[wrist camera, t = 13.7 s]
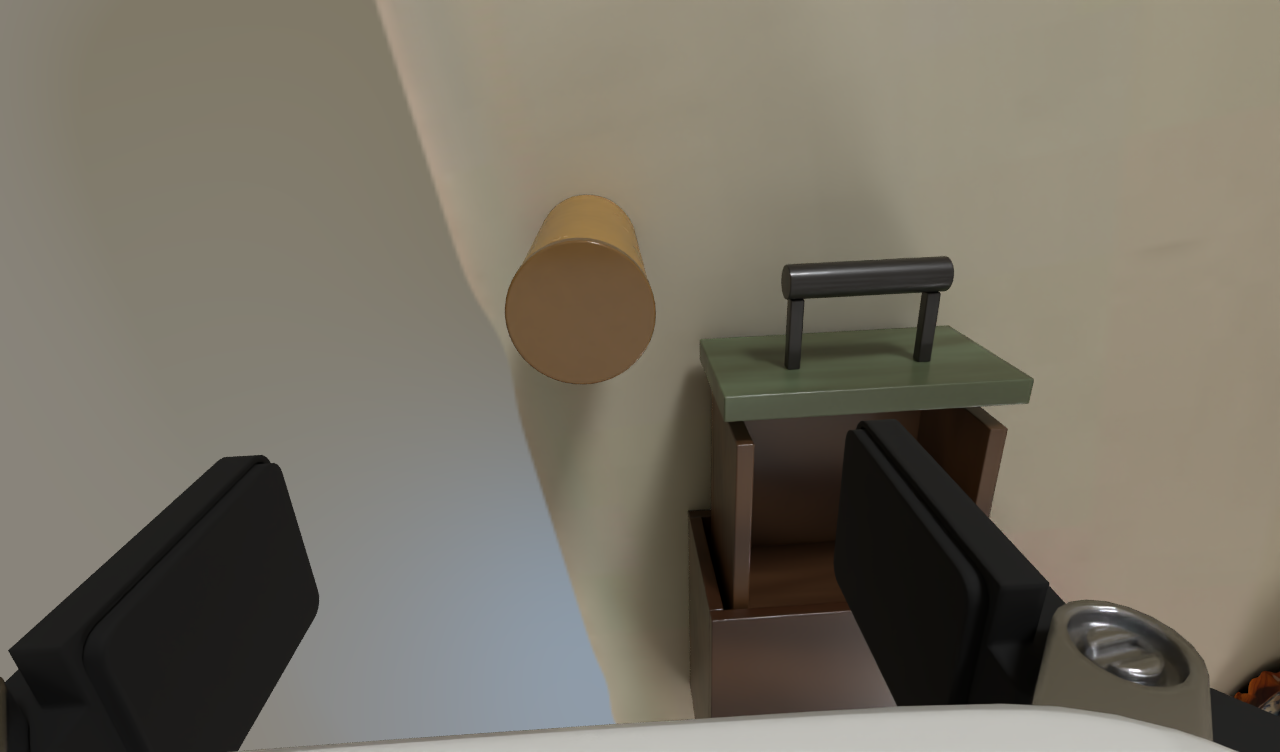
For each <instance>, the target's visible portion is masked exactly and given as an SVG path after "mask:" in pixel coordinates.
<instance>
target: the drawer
mask: <svg viewBox="0 0 1280 752" xmlns="http://www.w3.org/2000/svg"><path fill="white" fill-rule="evenodd" d="M953 278H954V268H953V264H952V261H951V260H950V259H949V258H948V257H946V256H940V257H921V258H902V259H883V260H864V261H844V262H825V263H806V264H787V265H785V266H784V268H783V271H782V278H781V284H782V292H783V295H784V298H785V299H787V300H788V306H787V325H786V335H771V336H753V337H735V338H717V339H701V340H700V361H701V364H702V366H703V369H704V372H705V374H706V377H707V379H708V382H709V384H710V387H711V389H712V432H711V553H712V557H713V561H714V566H715V570H716V574H717V578H718V582H719V586H720V590H721V594H722V598H723V602H724V606H725V610H732V609H746V608H760V607H774V606H788V605H802V604H816V603H830V602H844V601H846V600H845V597H844V595H843V593H842V591H841V589H840V587H839V585H838V583H837V580H836V577H835V573H834V564H833V561H834V549H835V539H836V529H837V519H838V509H839V499H840V489H841V479H842V468H843V458H844V448H845V439H846V434H847V432H848V431H849V430H856V427H857V425H858V423H859V422H860V421H867V420H885V419H896V420H897V421H899V422H900V423H901V424H902V425H903V426H904V427H905V429H906V430H907V431H908V432H909V433H910V434H911V435H912V436H913V437H914V438H915V439H916V440H917V441H918V443H919V444H920V445H921V446H922V447H923V448H924V449H925V450H926V451H927V452H928V453H929V454H930V455H931V457H932V458H933V459H934V460H935V461H936V462H937V463H938V464H939V465H940V466H941V467H942V468H943V469H944V470H945V472H946V473H947V474H948V475H949V476H950V477H951V478H952V479H953V480H954V481H955V482H956V483H957V484H958V486H959V487H960V488H961V489H962V490H963V491H964V492H965V493H966V494H967V495H968V496H969V497H970V498H971V499H972V501H973V502H974V503H975V504H976V505H977V506H978V507H979V508H980V509H981V510H982V511H983V512H984V513H985V515H986V516H987V517H988V518H989V515H990V510H991V505H992V501H993V496H994V491H995V486H996V482H997V477H998V472H999V468H1000V463H1001V458H1002V453H1003V449H1004V444H1005V439H1006V435H1007V430H1008V429H1007V428H1006V427H1005V426H1004V425H1003V424H1001V423H1000V422H999V421H997V420H996V419H995V418H994V417H992V416H991V415H990V414H989V413H987V412H986V411H985V410H984V409H982V408H981V406H998V405H1014V404H1028V403H1029V400H1030V395H1031V391H1032V386H1033V382H1034V379H1033V378H1032V377H1030V376H1028V375H1027V374H1025V373H1024V372H1022V371H1020V370H1019V369H1017V368H1016V367H1014V366H1012V365H1011V364H1009V363H1008V362H1006V361H1004V360H1003V359H1001V358H1000V357H998V356H996V355H995V354H993V353H992V352H990V351H989V350H987V349H985V348H984V347H982V346H981V345H979V344H977V343H976V342H974V341H973V340H971V339H969V338H968V337H966V336H965V335H963V334H961V333H960V332H958V331H957V330H955V329H953V328H952V327H950V326H936V321H937V315H938V308H939V301H940V295H941V294H940V292H939V291H946V290H948V289H949V288H950V287H951V285H952V282H953ZM920 292H922V296H921V303H920V310H919V317H918V324H917V327H913V328H895V329H877V330H860V331H842V332H824V333H806V334H802V331H803V316H804V300H803V299H810V298H828V297H847V296H865V295H884V294H902V293H920Z"/></svg>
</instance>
